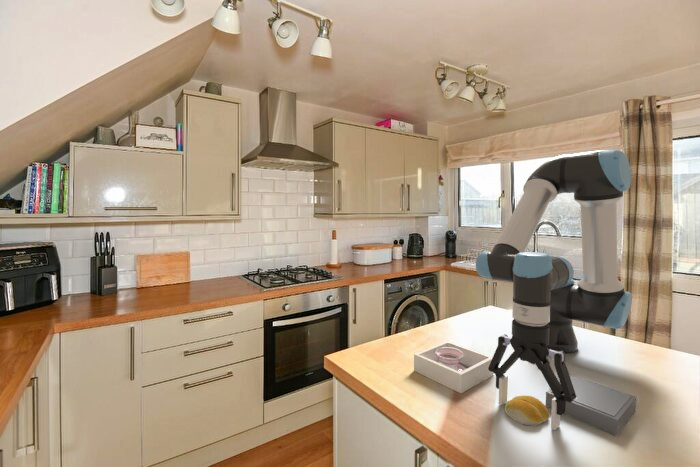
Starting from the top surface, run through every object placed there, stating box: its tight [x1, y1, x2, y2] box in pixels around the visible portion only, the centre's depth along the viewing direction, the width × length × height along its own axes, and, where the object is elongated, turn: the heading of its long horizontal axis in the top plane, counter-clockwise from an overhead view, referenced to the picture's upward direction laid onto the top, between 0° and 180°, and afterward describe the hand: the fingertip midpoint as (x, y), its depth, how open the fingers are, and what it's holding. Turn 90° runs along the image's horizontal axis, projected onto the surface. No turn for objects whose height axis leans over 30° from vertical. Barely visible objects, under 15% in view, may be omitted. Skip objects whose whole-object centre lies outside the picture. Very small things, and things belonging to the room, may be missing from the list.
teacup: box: [435, 347, 467, 371], centre depth 99 cm, size 12×12×6 cm
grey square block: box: [545, 373, 637, 437], centre depth 81 cm, size 14×14×4 cm
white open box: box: [413, 340, 495, 394], centre depth 99 cm, size 16×16×5 cm
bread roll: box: [504, 395, 550, 427], centre depth 79 cm, size 8×9×4 cm
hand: (527, 414), depth 79 cm, fingers open, 11 cm apart
